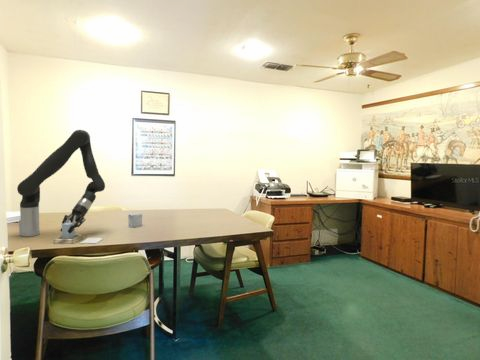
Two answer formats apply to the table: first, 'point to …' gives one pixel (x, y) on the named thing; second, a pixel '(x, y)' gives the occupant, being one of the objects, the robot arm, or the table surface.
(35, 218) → the robot arm
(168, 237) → the table surface
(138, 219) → the medicine box
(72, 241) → the well board
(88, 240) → the mat
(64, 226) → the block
